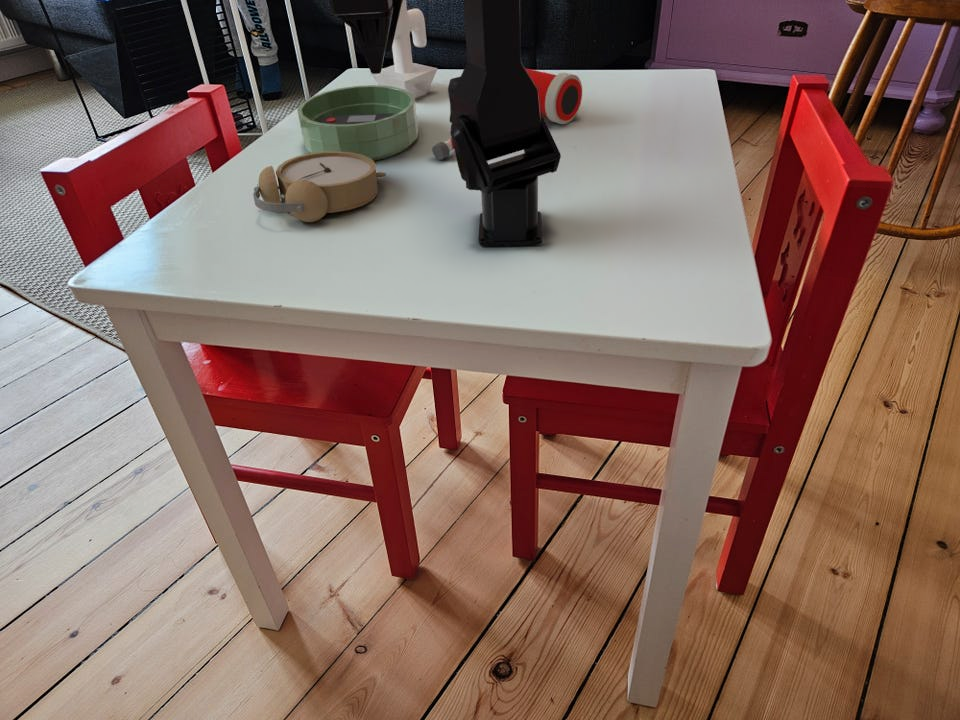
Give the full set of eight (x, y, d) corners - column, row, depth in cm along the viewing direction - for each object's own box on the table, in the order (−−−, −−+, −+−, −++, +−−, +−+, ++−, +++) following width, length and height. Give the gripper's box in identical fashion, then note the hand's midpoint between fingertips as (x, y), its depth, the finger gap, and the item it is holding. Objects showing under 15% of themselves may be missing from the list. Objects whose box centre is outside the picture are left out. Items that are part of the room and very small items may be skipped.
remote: (403, 130, 96) (401, 111, 94) (399, 141, 92) (397, 122, 91) (323, 133, 96) (320, 114, 95) (317, 144, 93) (313, 125, 91)
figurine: (444, 90, 109) (436, -17, 100) (401, 108, 104) (388, -3, 94) (411, 82, 113) (400, -21, 104) (368, 100, 108) (352, -8, 98)
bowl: (412, 162, 88) (407, 123, 85) (293, 166, 89) (284, 128, 86) (423, 119, 100) (420, 83, 97) (318, 122, 101) (311, 87, 98)
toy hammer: (471, 172, 85) (468, 120, 81) (405, 149, 92) (399, 100, 88) (583, 116, 98) (585, 69, 94) (518, 100, 104) (518, 55, 100)
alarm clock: (398, 165, 81) (289, 191, 70) (398, 207, 83) (293, 237, 73) (335, 144, 87) (226, 165, 76) (336, 183, 89) (231, 208, 79)
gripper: (306, -96, 83) (331, 45, 92) (263, -75, 68) (298, 89, 78) (399, -102, 82) (415, 40, 92) (376, -83, 67) (397, 84, 77)
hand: (381, 62), depth 85 cm, fingers open, 9 cm apart
